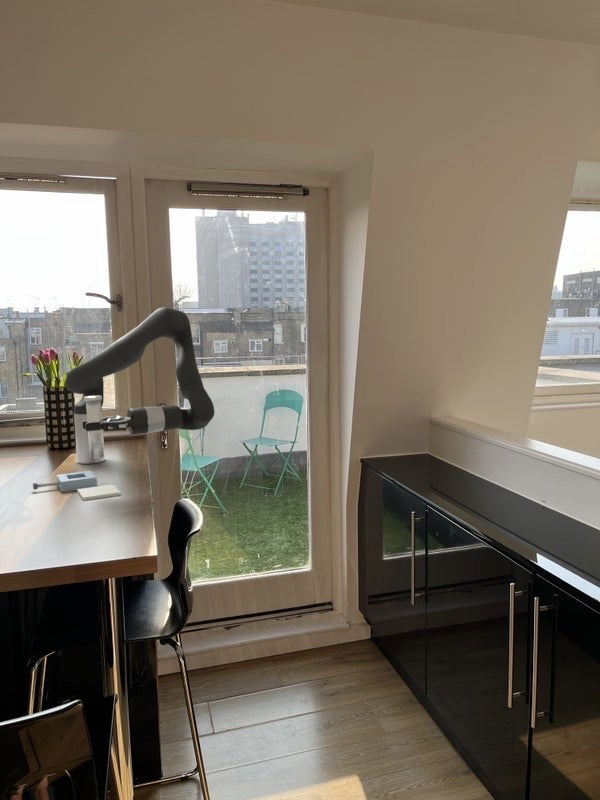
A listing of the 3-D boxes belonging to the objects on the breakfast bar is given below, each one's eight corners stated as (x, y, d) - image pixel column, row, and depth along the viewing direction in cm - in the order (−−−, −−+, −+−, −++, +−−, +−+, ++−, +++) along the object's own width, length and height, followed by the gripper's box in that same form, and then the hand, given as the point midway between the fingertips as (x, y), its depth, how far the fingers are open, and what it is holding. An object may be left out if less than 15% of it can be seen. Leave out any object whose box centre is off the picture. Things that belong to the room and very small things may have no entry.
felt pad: (77, 491, 177) (77, 489, 177) (113, 487, 182) (112, 484, 182) (83, 500, 168) (83, 497, 168) (120, 494, 173) (120, 492, 173)
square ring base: (32, 487, 182) (31, 478, 182) (91, 480, 190) (90, 470, 190) (35, 495, 174) (34, 485, 173) (97, 487, 182) (96, 477, 181)
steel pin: (87, 456, 175) (82, 396, 173) (103, 454, 177) (99, 395, 175) (90, 459, 171) (85, 398, 169) (107, 457, 173) (103, 396, 171)
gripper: (139, 404, 185) (78, 409, 177) (152, 410, 173) (87, 415, 165) (140, 429, 186) (80, 435, 178) (153, 436, 174) (89, 443, 166)
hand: (84, 426), depth 171 cm, fingers closed on steel pin, 3 cm apart
